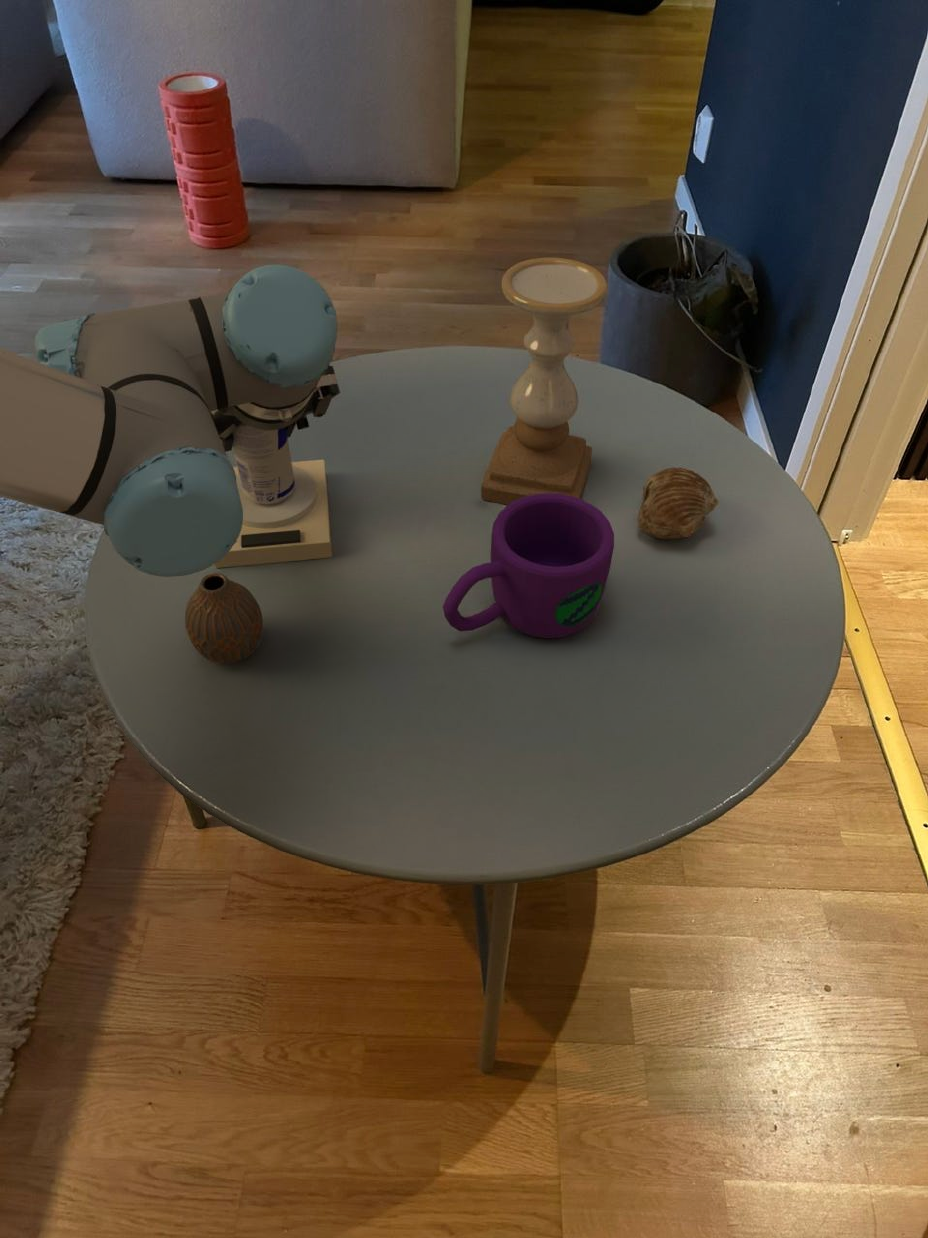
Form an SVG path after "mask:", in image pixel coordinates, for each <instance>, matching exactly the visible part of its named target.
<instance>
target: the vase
mask: <svg viewBox="0 0 928 1238" xmlns="http://www.w3.org/2000/svg"><path fill="white" fill-rule="evenodd" d="M184 615H185V616H184V624H185V630H186V633H187V636H188V639H189V641H190V644H192V646H193V648H194V649H195V650H196V651H197V652H198V653H199V655H201V656H202V657H203V658H205V659H207V660H209V661H211V662H213V663H217V664H233V663H237V662H240V661H242V660H244V659H246V658H248V657H249V656H251V655H252V653H254V651H255V650H256V649H257V648H258V646H259V644H260V642H261V640H262V636H263V633H264V617H263V613H262V610H261V607H260V604H259V602H258V601H257V599H256V597H255V595H253V594H252V592H251V591H250V590H249V589H247V588H246V587H245V586H244V585H243V584H241V583H238V582H236V581H233V580H231V579H229V578H228V577H227V576H226V575H224V574H223V573H216V572H214V573H210V574H206V575H205V576H204V577H203V578H201V580H200V582H199V585H198V587H197V589H196V590H194V592H193V593H192V595H191V596H190V598H189V600H188V601H187V604H186V608H185V613H184Z"/></svg>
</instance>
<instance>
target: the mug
mask: <svg viewBox="0 0 928 1238" xmlns="http://www.w3.org/2000/svg"><path fill="white" fill-rule="evenodd" d="M490 537H491V539H490V541H491V542H490V561H489V562H484V563H480V564H479V565H476V566H473V567H471V568H470V569H469V570H467V571H466V572H465V573H463V574H462V575H461V576H460V577H459V579H458V580H457V581H456V583H455V584H454V585H453V586H452V587H451V589H450V590H449V592H448V594H447V596H446V597H445V599H444V602H443V604H442V610H443V615H444V618H445V620H446V622H447V623H448V624H449V626H450V627H452V628H453V629H455V630H457V631H459V632H471V631H474V630H478V629H481V628H483V627H485V626H487V625H489V624H491V623H493V622H495V621H497V619H499V618H501V617H502V619H503V620H504V621H505V622H506V623H507V624H508V625H510V626H511V627H512V628H513V629H515V630H517V631H519V632H521V633H523V634H525V635H529V636H532V637H536V638H542V639H543V638H544V639H554V638H563V637H566V636H569V635H571V634H575V633H576V632H578V631H579V630H582V629H583V628H585V626H587V625H588V623H589V622H591V620H592V619H593V618H594V617H595V616H596V613H597V611H598V609H599V606H600V604H601V601H602V598H603V596H604V595H605V594H604V593H605V591H606V587H607V582H608V578H609V575H610V570H611V565H612V560H613V554H614V548H615V532H614V530H613V527H612V525H611V522H610V520H609V519H608V518H607V517H606V515H605V514H604V512H603V511H601V510H600V509H599V508H597V507H596V506H594V505H593V504H592V503H590V502H588V501H585V500H584V499H582V498H581V499H579V498H576V497H572V496H568V495H564V494H555V493H543V494H533V495H530V496H526V497H523V498H520V499H518V500H516V501H514V502H512V503H510V504H509V505H507V504H506V506H505V507H504V508H503V509H502V510H501V511H500V512H499V513H498V514H497V516H496V518H495V520H494V521H493V523H492V528H491V535H490ZM486 579H490V581H491V582H490V583H491V589H492V595H493V599H494V602H493V603H492V604H490V606H489V607H487V608H485V609H483V610H482V611H480V612H478V613H475V614H472V615H469V616H463V615H462V614H461V613H460V611H459V610H458V609H459V606H460V604H461V603H462V601H463V600H464V598H465V596H466V595H467V594H468V593H469V592H470V590H471V589H472V588H473V587H474V586H475V585H476V584H478V583H479V582H480V581H483V580H486Z"/></svg>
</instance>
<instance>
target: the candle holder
mask: <svg viewBox="0 0 928 1238" xmlns="http://www.w3.org/2000/svg"><path fill="white" fill-rule="evenodd" d="M501 291H502V294H503V296H504V297H505V298H506V300H507V301H508V302H510V304H512V305H513V306H515V307H517V308H518V309H521V310H523V311H526V312H528V313H530V314H531V315H532V321H533V323H532V326H531V327H530V329H529V330H528V331H527V332H526V333H525V335H524V337H523V346H524V348H525V349H526V350H527V353H528V354H529V356H530V358H531V359H530V363H529V364H528V366H527V368H526V369H525V371H524V372H523V373H522V374H521V375H520V376H519V378H517V380H516V382H515V383H514V384H513V387H512V389H511V391H510V397H509V406H510V408H511V411H512V413H513V414H514V416H515V417H516V419H515V422H514V424H513V425H512V426H509V427H508V428H507V429H506V430H505V431H503V432H502V434H501V436H500V437H499V439H498V441H497V444H496V447H495V450H494V451H493V454H492V456H491V459H490V461H489V463H488V466H487V469H486V471H485V473H484V475H483V480H482V483H481V489H480V491H481V493H480V498H481V500H484V501H488V502H490V503H497V504H502V505H506V506H507V505H509V504H510V503H512V502H514V501H516V500H518V499H520V498H523V497H526V496H530V495H533V494H543V493H555V494H564V495H568V496H572V497H576V498H579V499H581V500H582V496H583V492H584V489H585V485H586V481H587V478H588V475H589V472H590V467H591V462H592V455H593V447H592V446H590V445H587V439H585V438H583V437H580V436H576V435H571V434H570V425H569V421H570V420H571V419H572V418H573V417H574V416H575V415H576V412H577V410H578V406H579V395H578V390H577V388H576V385H575V383H574V382H573V379H571V376H570V375H569V374H568V371H567V370H566V367H565V363H564V362H565V359H566V358H567V357H568V356H569V354H570V353H571V352H572V351H573V350H574V347H575V346H576V339H575V337H574V336H573V334H572V333H571V331H570V328H569V323H570V319H571V318H572V317H573V316H574V315H575V316H576V315H579V314H584V313H587V312H589V311H591V310H593V309H595V308H596V307H598V306H599V305H600V304H601V303H602V302H603V301H604V300H605V297H606V296H607V291H608V283H607V280H606V278H605V277H604V275H603V274H602V273H601V272H600V271H599V270H597V269H596V268H594V266H591V265H589V264H587V263H584V262H581V261H578V260H574V259H569V258H562V257H538V258H531V259H526V260H523V261H520V262H518V263H516V264H514V265H512V266H510V267H509V268H508V269H507V270H506V271H505V272H504V274H503V275H502V278H501Z"/></svg>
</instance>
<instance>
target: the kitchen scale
mask: <svg viewBox="0 0 928 1238" xmlns="http://www.w3.org/2000/svg"><path fill="white" fill-rule="evenodd" d="M291 462H292V468H293V474H294V481H295V489H294V491H293V492H292V494H291V495H290V496H289V497H287V498H286V499H284V500H283V501H280V502H277V503H273V504H259V503H255V502H252V501H250V500H249V499H247V498H246V497H245V496H244V494H243V491H242V486H241V482H240V477H239V473H238V468H237V466H233V468H234V471H235V474H236V478H237V479H236V483H237V487H238V491H239V495H240V499H241V503H242V508H243V524H242V528H241V532H240V535H239V537H238V538H237V542H236V543H235V544H234V545H233V546H232V548H231V550H230V551H229V552H228V553H227V554H226V555H225V556H224V557H223V558H222V559H221V560H219V561H218V562H216V563H215V564H214V568H215V569H219V568H220V569H223V568H233V567H241V566H242V567H245V566H254V565H266V564H276V563H277V564H278V563H285V562H287V563H288V562H296V561H297V562H298V561H308V560H318V559H319V560H320V559H329V558H333V552H332V551H333V550H332V537H331V535H332V534H331V523H330V522H331V521H330V510H329V496H328V495H329V493H328V481H327V470H326V462H325V459H315V460H314V459H313V460H301V461H291Z"/></svg>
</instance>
